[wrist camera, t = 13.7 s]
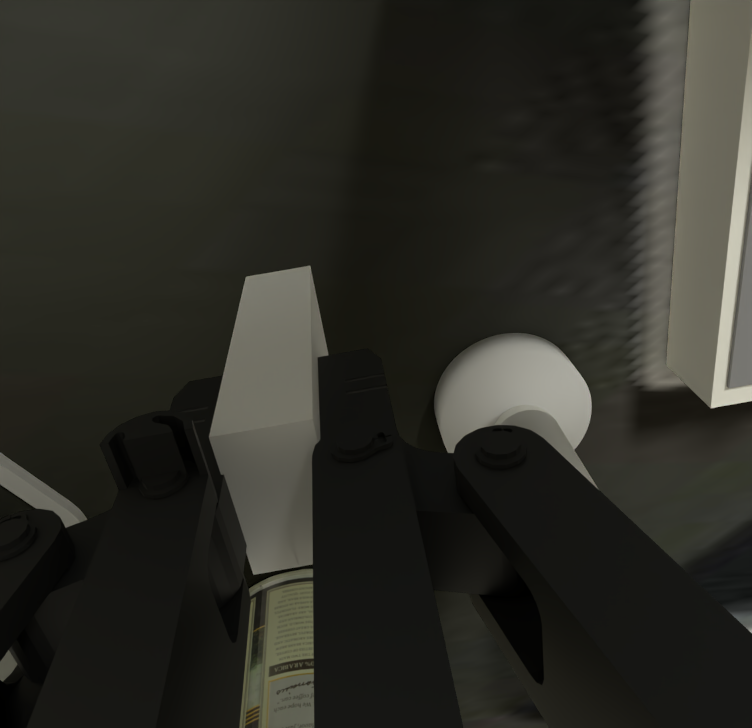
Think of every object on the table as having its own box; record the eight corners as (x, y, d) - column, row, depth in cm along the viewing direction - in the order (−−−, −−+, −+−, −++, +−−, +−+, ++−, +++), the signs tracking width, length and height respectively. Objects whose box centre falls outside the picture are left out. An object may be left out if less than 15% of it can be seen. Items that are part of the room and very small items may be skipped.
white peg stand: (466, 315, 30) (1001, 1317, 7) (601, 354, 31) (1399, 1270, 8) (413, 440, 33) (663, 1435, 10) (538, 469, 34) (1006, 1384, 11)
